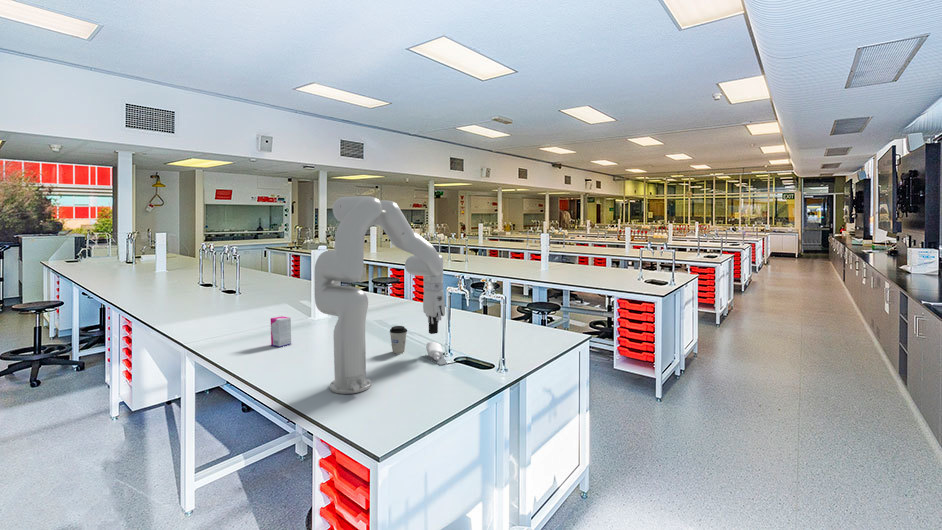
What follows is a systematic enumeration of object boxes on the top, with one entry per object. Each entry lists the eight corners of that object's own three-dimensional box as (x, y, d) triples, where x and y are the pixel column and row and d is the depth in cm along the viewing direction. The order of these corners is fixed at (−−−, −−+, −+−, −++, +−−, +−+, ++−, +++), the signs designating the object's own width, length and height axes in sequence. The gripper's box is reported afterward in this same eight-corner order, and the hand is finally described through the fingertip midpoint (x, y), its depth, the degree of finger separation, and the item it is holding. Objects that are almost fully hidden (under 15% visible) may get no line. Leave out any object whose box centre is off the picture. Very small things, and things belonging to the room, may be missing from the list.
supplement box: (292, 344, 190) (291, 317, 188) (279, 347, 185) (278, 320, 183) (283, 342, 193) (282, 315, 191) (270, 345, 188) (269, 318, 186)
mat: (464, 361, 170) (464, 360, 170) (440, 365, 165) (440, 364, 165) (447, 352, 180) (447, 351, 180) (425, 356, 175) (425, 355, 175)
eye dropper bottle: (435, 354, 179) (439, 367, 168) (424, 346, 178) (427, 359, 166) (442, 345, 179) (447, 358, 168) (431, 337, 177) (435, 350, 166)
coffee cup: (402, 348, 185) (402, 324, 184) (410, 353, 180) (410, 328, 178) (386, 351, 181) (386, 326, 180) (394, 355, 176) (393, 330, 175)
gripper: (451, 288, 173) (451, 336, 175) (432, 283, 185) (432, 327, 187) (434, 290, 168) (434, 338, 170) (415, 284, 181) (415, 330, 183)
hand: (433, 333), depth 179 cm, fingers closed
